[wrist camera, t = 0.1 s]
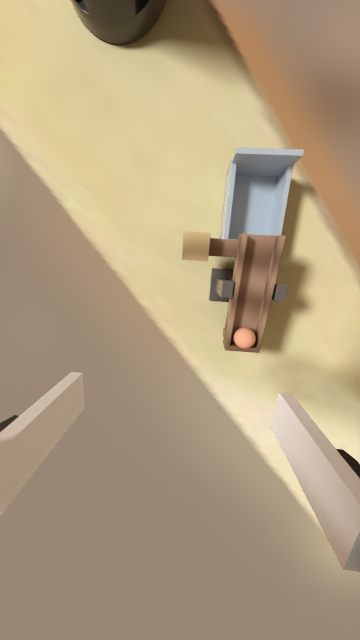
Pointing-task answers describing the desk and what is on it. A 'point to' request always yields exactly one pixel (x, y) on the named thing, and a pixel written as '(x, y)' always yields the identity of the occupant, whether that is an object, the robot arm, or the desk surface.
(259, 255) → the lever
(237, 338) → the ball
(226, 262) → the desk surface
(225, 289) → the fulcrum
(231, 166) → the bin
